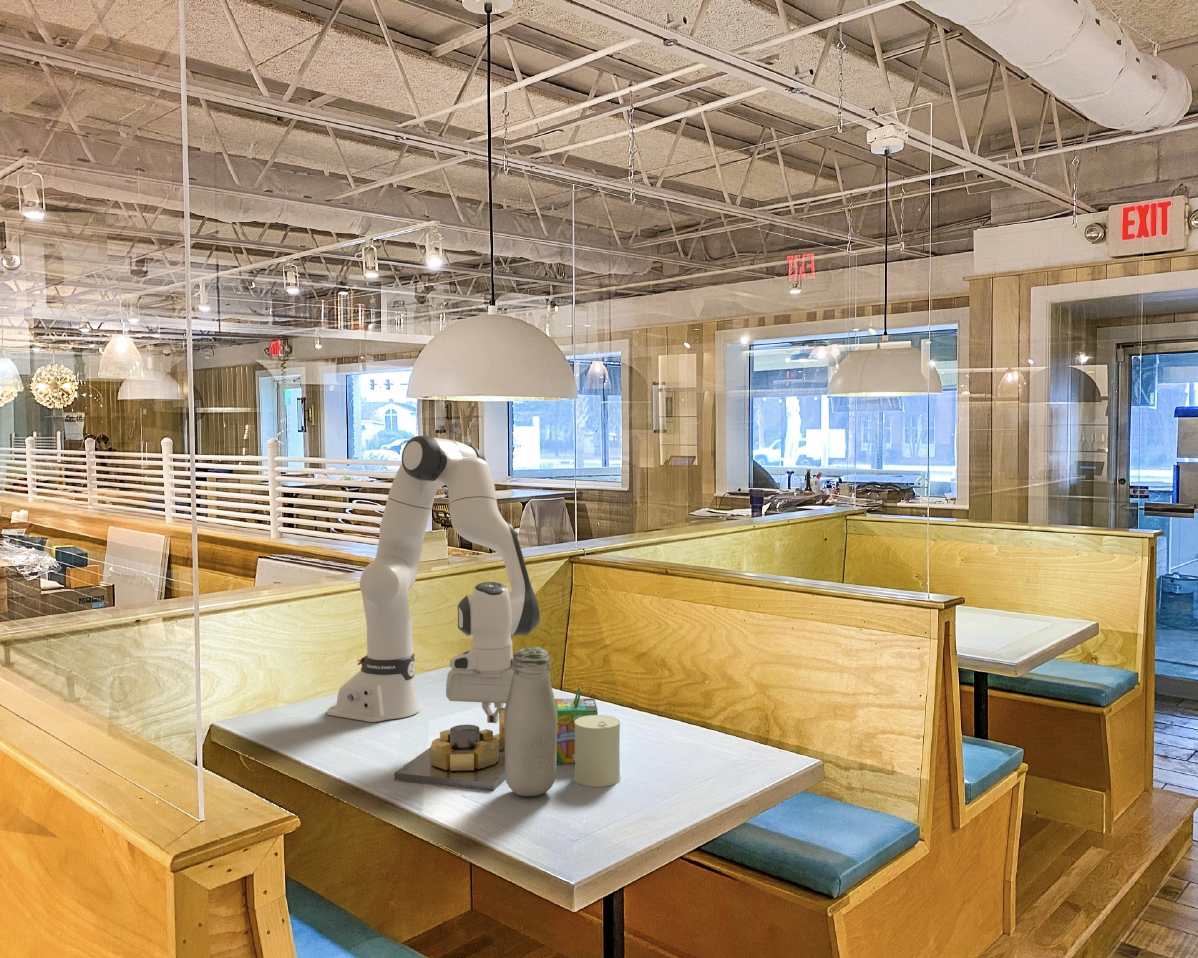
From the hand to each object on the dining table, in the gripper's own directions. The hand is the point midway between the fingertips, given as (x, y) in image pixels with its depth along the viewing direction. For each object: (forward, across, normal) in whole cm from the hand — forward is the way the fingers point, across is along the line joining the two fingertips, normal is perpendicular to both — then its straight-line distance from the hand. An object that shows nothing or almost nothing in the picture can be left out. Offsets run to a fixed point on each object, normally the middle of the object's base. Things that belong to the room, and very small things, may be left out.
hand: (493, 722), depth 201 cm
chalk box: (+7, -18, 0) cm, 19 cm away
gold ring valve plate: (+5, +1, +8) cm, 10 cm away
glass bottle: (+7, -14, +22) cm, 27 cm away
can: (+7, -25, +12) cm, 29 cm away
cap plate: (+6, +3, +10) cm, 13 cm away
